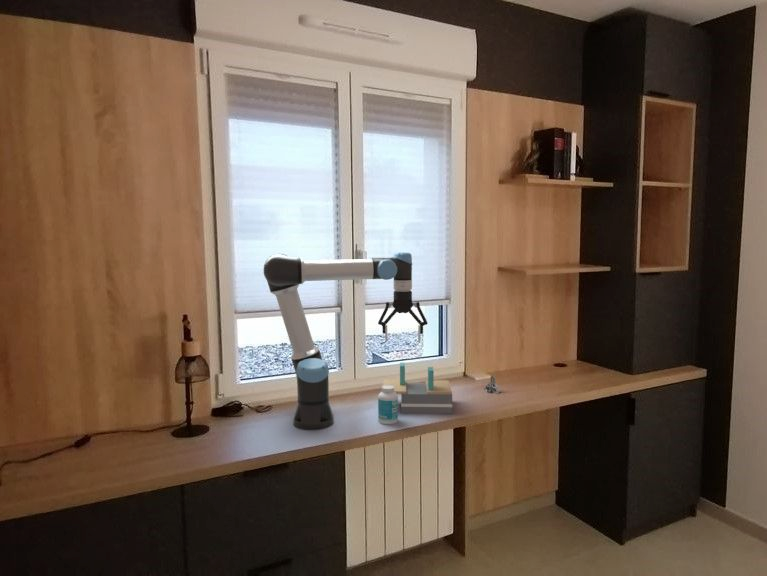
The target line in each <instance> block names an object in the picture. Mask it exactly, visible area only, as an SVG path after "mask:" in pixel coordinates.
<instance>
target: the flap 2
mask: <svg viewBox="0 0 767 576" xmlns="http://www.w3.org/2000/svg"><path fill="white" fill-rule="evenodd" d="M434 371H435V370H434V367H433V366H427V379H426V380H425V383H426V388H427V394H452V395H453V392H452V388H451V385H450V381H449V380H448V379H447V380H445V379H444V380H443V379H442V380H441V379H440V380H437V379H436V380H435V379H434Z"/></svg>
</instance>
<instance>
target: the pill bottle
mask: <svg viewBox="0 0 767 576" xmlns="http://www.w3.org/2000/svg"><path fill="white" fill-rule="evenodd" d="M377 396H378V398H377V404H378V405H377V408H378V409H377V411H378V412H377V413H378V414H377V416H378V417H377V419H378V420H377V421H378V423H380V424H381V425H388V426H389V425H394V424H396V423H397V422H399V421H398V420H399V419H398V418H399V414H398V413H399V410H398V409H399V408H398V407H399V402H398V401H399V394H396V393H395V392H394V387H393V386H383V385H382V386H381V391H380V392H379V394H378V395H377Z"/></svg>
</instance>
